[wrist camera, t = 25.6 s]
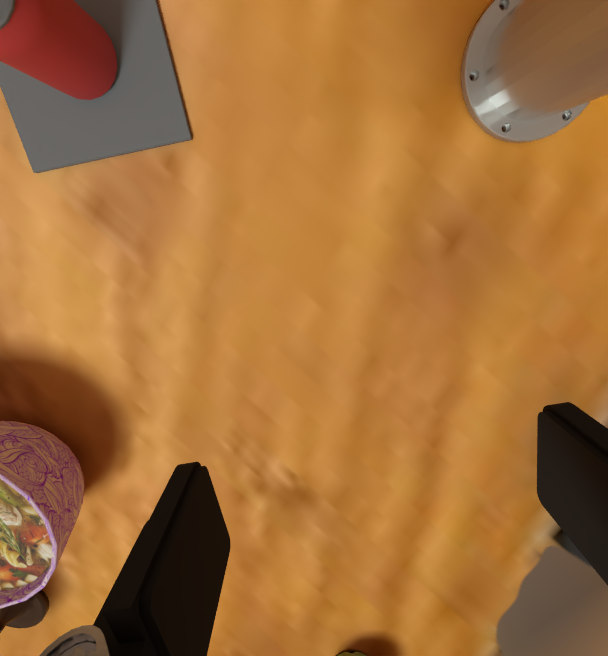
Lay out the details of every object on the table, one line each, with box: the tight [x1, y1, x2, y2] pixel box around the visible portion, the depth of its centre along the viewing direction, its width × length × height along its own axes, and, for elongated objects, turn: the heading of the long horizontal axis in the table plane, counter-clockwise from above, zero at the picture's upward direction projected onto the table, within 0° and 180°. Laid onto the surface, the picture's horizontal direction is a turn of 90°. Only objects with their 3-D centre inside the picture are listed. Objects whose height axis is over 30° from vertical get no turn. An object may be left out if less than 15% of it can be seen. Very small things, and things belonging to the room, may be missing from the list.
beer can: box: [0, 0, 117, 100], centre depth 27 cm, size 7×7×12 cm
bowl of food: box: [0, 421, 84, 608], centre depth 41 cm, size 20×20×12 cm
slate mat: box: [0, 0, 192, 173], centre depth 33 cm, size 16×16×1 cm
